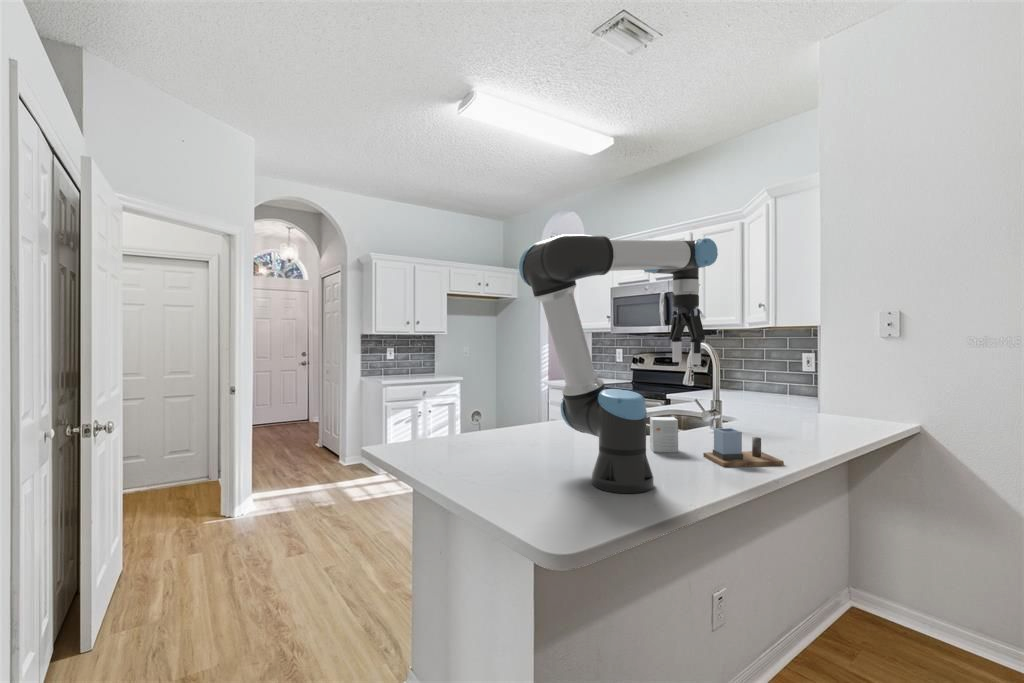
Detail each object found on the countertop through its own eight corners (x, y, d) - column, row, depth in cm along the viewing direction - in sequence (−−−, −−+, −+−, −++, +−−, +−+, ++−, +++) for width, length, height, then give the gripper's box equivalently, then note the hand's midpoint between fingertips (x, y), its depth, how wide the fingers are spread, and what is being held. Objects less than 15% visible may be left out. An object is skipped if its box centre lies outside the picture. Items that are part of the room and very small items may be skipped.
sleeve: (743, 459, 143) (743, 432, 143) (722, 460, 143) (722, 432, 143) (732, 454, 149) (732, 427, 149) (712, 454, 149) (712, 428, 149)
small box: (674, 448, 163) (674, 416, 162) (678, 452, 157) (678, 419, 157) (649, 448, 163) (649, 416, 163) (652, 452, 158) (652, 419, 158)
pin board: (722, 466, 140) (722, 443, 140) (703, 456, 152) (703, 434, 152) (783, 465, 141) (783, 441, 141) (759, 454, 153) (759, 433, 153)
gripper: (717, 290, 140) (717, 365, 140) (680, 297, 164) (681, 360, 165) (691, 290, 139) (691, 366, 139) (658, 297, 164) (659, 361, 164)
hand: (686, 363), depth 152 cm, fingers open, 13 cm apart
